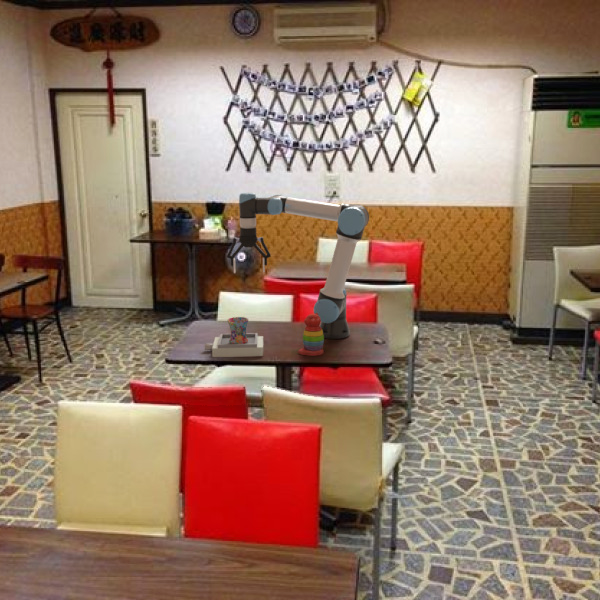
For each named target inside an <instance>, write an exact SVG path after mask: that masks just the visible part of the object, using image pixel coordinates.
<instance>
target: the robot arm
mask: <svg viewBox="0 0 600 600" xmlns="http://www.w3.org/2000/svg"><path fill="white" fill-rule="evenodd" d="M238 197H239V198H238V205H239V206H238V209H239V227H240V228H239V237H235V236H234V237H233V241H232V244H231V247H230V249H229V251H228V253H227V255H226V258H228V259H230V266H232V267H233V274H236V268H237V267H236V258H235V257H237V255H238V253H239V252H240V251H241V250H242V248H253V247H254V248H255V249H256V250H257V251H258V253H259V254H260V256H262V273H263V274H265V272H266V271H265V270H266V269H265V267H266V266H267V265H268V258H271V256H272V254H271V253H270V251H269V249H268V247H267V245H266V243H265V240H264V237H263V236H261V237H257V215H268V216H269V215H271V216H274V215H275V216H276V215H280V214H281V213H282V214H290V215H296V216H301V217H308V218H314V219H320V220H327V221H331V222H337V228H336V232H335V235H336V236H337V241H336V245H335V247H334V250H333V251H334V252H333V255H332V258H331V262H330V266H329V269H328V272H327V278H326V280H325V283H324V287H323V288H320V289H319V293H318V297H317V301H316V302H315V303H314V306H313V314H315V313H318V316H319V317H320V319H321V322H320V325H319V326H320V327H321V329H322V330H323V335H324V339H329V340H330V339H332V340H337V339H338V340H339V339H345V338H347V337H348V338H349V337H350V333H351V331H350V328H349V327H350V326H349V324H348V320H347V290H346V289H345V286H346V281H347V278H348V275H349V271H350V267H351V264H352V261H353V257H354V253H355V250H356V247H357V243H358V242H361V241H362V238H363V234H364V232H365V228H366V226H367V225H368V223H370V222H369V221H370V214H369V211H368V209H367V208H366V207H364V205H361V204H357V203H356V204H355V203H354V204H353V203H343V202H342V203H341V204H335V203H334V204H333V203H328V202H321V201H315V200H308V199H302V198H297V197H289V196H283V195H282V194H275V195H273V196H270V197H257V196H256V193H255V192H243V193H240V194H239V196H238ZM238 242H240V245H239V246H238V247H237V249H235V251H234V252H233V250H234V247H235V246H236V244H237V243H238ZM257 242H259V243H260V244H261V246H262V247H263V249H264V251H263V250H262V248H260V246H258V244H257ZM232 252H233V253H232Z"/></svg>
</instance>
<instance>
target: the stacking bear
mask: <svg viewBox="0 0 600 600" xmlns="http://www.w3.org/2000/svg"><path fill="white" fill-rule="evenodd" d="M303 322H304V324H305V326H304V330H303V334H302V343H303V347H302V348H299V349H298V351H297V353H298V354H299V355H303V356H321V355H323V354H324V348H323V347H324V342H325V338H324V335H323V330H322V329H321V327H320V324H321V319H320V317H319V316H318V313H315V314H314V313H310V314H308V315H306V317H305V319H304V321H303Z"/></svg>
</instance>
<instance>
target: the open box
mask: <svg viewBox="0 0 600 600" xmlns="http://www.w3.org/2000/svg"><path fill="white" fill-rule="evenodd" d="M258 334H259V333H258V332H255V333H254V332H248V333H247V332H246V336H247V339H248V342H247V343H244V344H232V343H230V342H229V340H230V337H231V333H220V334H219V336H215V337H214V341H213V343H204V351H212V352H211V353H212V358H233V357H235V358H237V357H263V356H264V336H263V335H258Z"/></svg>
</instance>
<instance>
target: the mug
mask: <svg viewBox="0 0 600 600" xmlns="http://www.w3.org/2000/svg"><path fill="white" fill-rule="evenodd" d="M227 322H228V325H229V328H230V334H231V337H230V340H229V342H230V343H232V344H244V343H247V342H248V339H247V336H246V333H247V326H248V322H249V318H247V317H244V316H234V317H233V316H232V317H230V318H228V319H227Z"/></svg>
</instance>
